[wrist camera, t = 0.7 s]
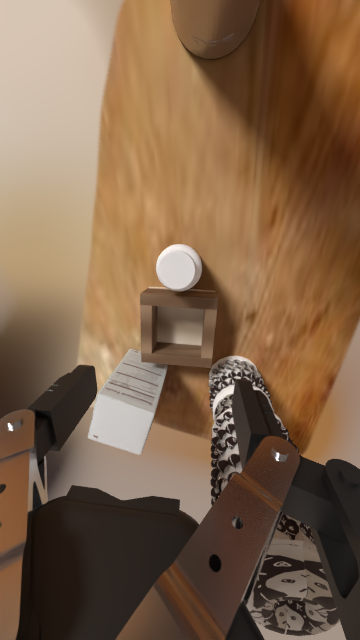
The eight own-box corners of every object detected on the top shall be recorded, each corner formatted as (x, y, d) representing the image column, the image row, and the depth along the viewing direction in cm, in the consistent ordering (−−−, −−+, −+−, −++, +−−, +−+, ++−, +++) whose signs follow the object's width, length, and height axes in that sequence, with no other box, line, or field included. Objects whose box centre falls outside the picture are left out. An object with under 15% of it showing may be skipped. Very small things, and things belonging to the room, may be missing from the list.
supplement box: (159, 393, 39) (140, 458, 27) (120, 380, 39) (84, 439, 27) (171, 360, 36) (156, 414, 25) (130, 346, 36) (95, 393, 24)
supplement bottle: (208, 272, 31) (211, 282, 22) (176, 289, 33) (165, 305, 23) (191, 238, 30) (187, 233, 21) (158, 256, 31) (140, 260, 22)
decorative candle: (210, 349, 35) (230, 554, 11) (267, 357, 35) (409, 591, 11) (202, 394, 38) (203, 633, 14) (254, 403, 38) (343, 664, 14)
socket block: (149, 286, 33) (140, 293, 28) (215, 290, 32) (218, 298, 27) (150, 345, 36) (141, 362, 31) (209, 350, 35) (211, 368, 30)
